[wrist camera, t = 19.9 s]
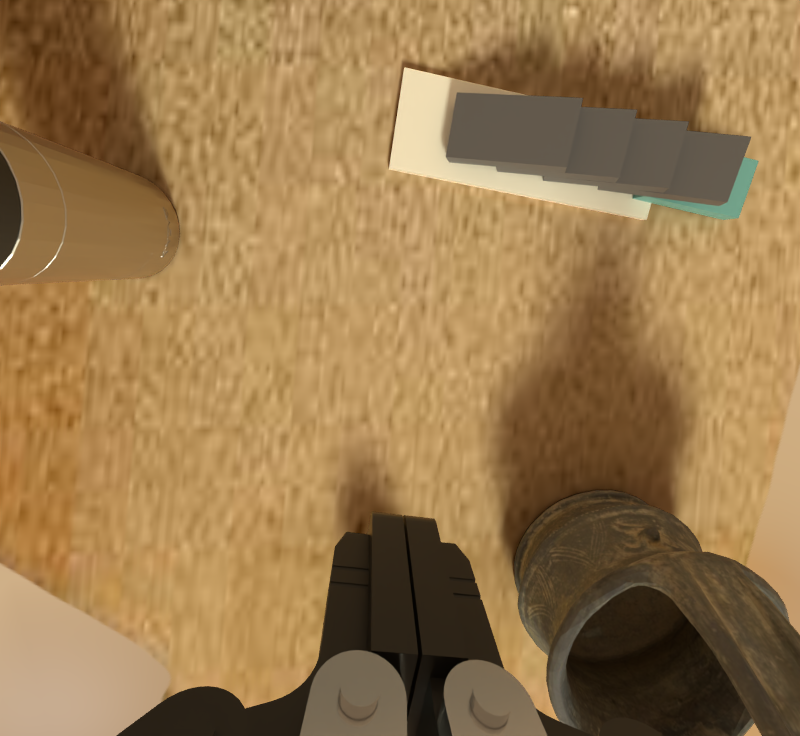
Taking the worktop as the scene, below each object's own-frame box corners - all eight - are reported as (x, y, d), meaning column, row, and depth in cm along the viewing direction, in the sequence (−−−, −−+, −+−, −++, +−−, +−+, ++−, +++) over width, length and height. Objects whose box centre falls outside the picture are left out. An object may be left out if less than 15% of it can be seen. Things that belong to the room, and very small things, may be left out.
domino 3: (543, 176, 36) (669, 188, 33) (557, 113, 35) (689, 121, 32) (543, 180, 37) (663, 192, 35) (556, 121, 36) (681, 129, 34)
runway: (388, 169, 37) (388, 167, 36) (403, 70, 35) (404, 67, 35) (642, 220, 39) (646, 219, 39) (668, 130, 38) (673, 128, 37)
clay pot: (711, 496, 48) (1234, 854, 19) (628, 651, 53) (940, 1124, 24) (540, 449, 45) (844, 785, 16) (470, 617, 50) (603, 1108, 21)
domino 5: (644, 195, 37) (738, 218, 38) (662, 135, 36) (758, 160, 37) (632, 198, 38) (723, 219, 40) (649, 140, 37) (742, 164, 39)
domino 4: (600, 185, 36) (727, 202, 34) (618, 124, 35) (751, 136, 33) (597, 189, 38) (719, 206, 35) (614, 131, 37) (741, 143, 34)
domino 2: (495, 166, 36) (619, 177, 33) (508, 103, 34) (637, 109, 32) (497, 171, 37) (615, 182, 34) (509, 111, 36) (632, 117, 33)
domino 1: (445, 156, 35) (566, 167, 33) (456, 92, 34) (583, 98, 31) (449, 162, 37) (565, 172, 34) (459, 100, 35) (580, 106, 33)
